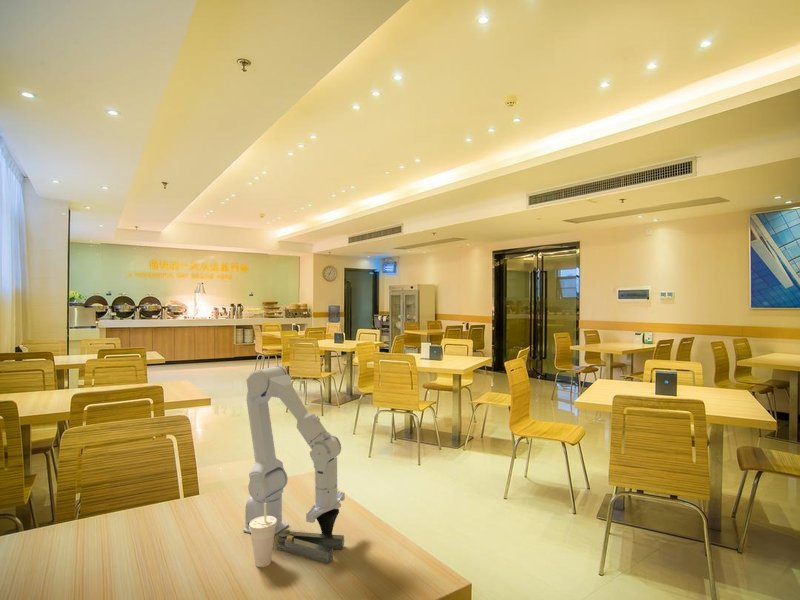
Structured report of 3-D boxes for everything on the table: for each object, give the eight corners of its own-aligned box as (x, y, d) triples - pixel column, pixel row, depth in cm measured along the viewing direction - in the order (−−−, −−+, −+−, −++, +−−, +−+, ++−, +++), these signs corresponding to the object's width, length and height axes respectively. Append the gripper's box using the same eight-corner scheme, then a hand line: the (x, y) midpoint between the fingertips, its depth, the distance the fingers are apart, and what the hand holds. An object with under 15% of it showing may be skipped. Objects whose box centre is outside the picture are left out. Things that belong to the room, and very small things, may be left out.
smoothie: (268, 572, 102) (268, 510, 102) (243, 568, 103) (243, 508, 103) (281, 556, 108) (281, 498, 108) (257, 553, 109) (257, 496, 109)
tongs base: (271, 547, 112) (271, 533, 112) (284, 539, 116) (283, 525, 116) (328, 563, 105) (328, 548, 105) (339, 554, 109) (339, 539, 109)
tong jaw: (277, 545, 113) (277, 534, 113) (281, 539, 116) (281, 529, 116) (341, 550, 110) (341, 539, 110) (344, 544, 113) (344, 534, 113)
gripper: (322, 498, 106) (323, 556, 106) (354, 477, 119) (354, 528, 119) (299, 494, 109) (299, 549, 109) (332, 473, 122) (332, 523, 122)
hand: (326, 538), depth 114 cm, fingers closed
